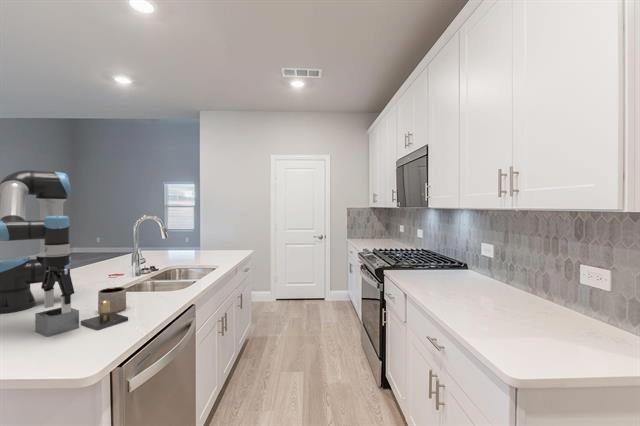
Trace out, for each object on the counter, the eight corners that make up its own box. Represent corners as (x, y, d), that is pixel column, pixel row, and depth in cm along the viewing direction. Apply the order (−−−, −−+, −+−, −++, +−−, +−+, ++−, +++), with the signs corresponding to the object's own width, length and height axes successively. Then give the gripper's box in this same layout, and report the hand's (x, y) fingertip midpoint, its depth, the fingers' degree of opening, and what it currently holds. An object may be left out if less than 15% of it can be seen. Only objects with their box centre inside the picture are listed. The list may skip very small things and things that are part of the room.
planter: (93, 315, 138) (93, 293, 137) (103, 307, 148) (103, 287, 148) (121, 313, 140) (121, 292, 140) (129, 306, 151) (129, 286, 151)
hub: (80, 324, 127) (80, 302, 127) (111, 315, 137) (111, 295, 137) (96, 330, 121) (96, 307, 121) (128, 320, 132) (128, 299, 132)
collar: (35, 331, 120) (35, 313, 119) (66, 323, 128) (66, 306, 128) (47, 336, 115) (47, 318, 115) (78, 327, 124) (78, 310, 124)
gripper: (30, 254, 123) (30, 307, 124) (61, 259, 112) (61, 317, 112) (53, 252, 130) (53, 302, 130) (85, 256, 118) (85, 311, 119)
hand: (57, 309), depth 121 cm, fingers open, 13 cm apart
